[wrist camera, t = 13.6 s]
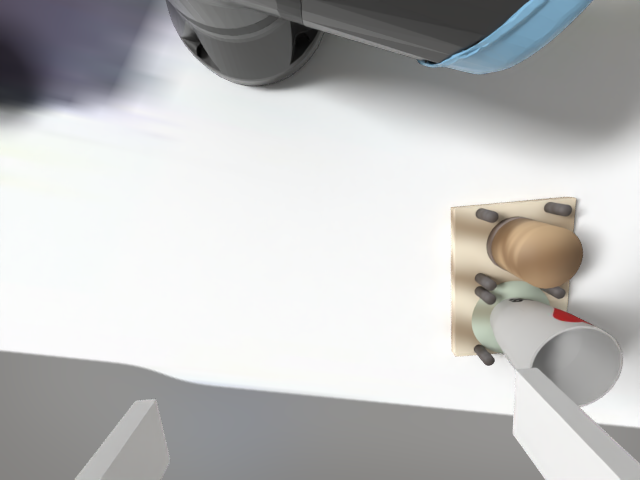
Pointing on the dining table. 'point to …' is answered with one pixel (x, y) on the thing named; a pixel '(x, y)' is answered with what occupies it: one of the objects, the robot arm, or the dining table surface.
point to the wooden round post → (535, 251)
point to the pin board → (494, 271)
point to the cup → (558, 347)
